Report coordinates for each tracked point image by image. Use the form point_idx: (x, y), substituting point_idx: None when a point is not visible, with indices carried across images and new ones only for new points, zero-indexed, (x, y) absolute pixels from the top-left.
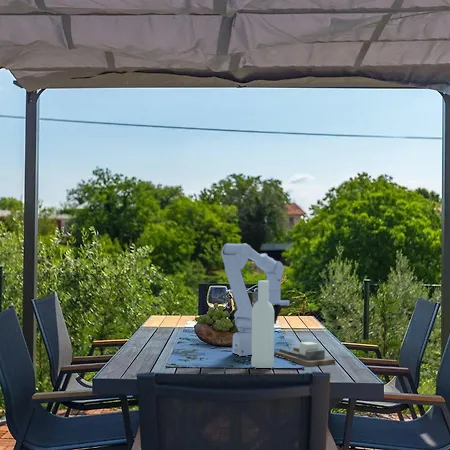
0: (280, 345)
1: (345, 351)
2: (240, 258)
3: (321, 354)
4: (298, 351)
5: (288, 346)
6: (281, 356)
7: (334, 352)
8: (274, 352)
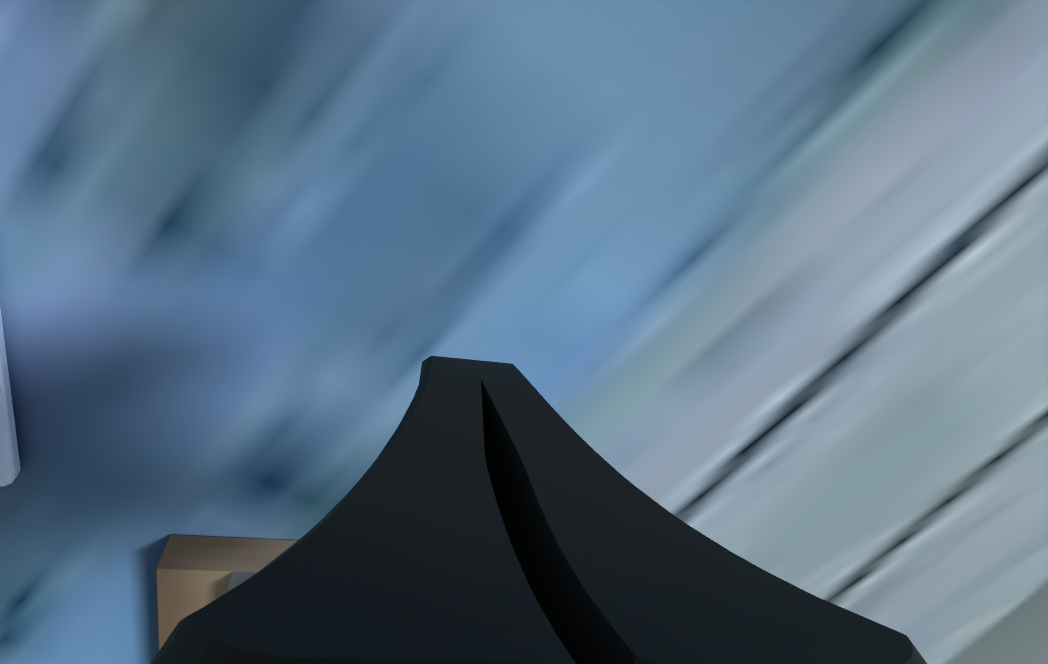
0: (779, 2)
1: (956, 643)
2: None
3: None
4: None
5: (796, 146)
6: None
7: None
8: (159, 563)
